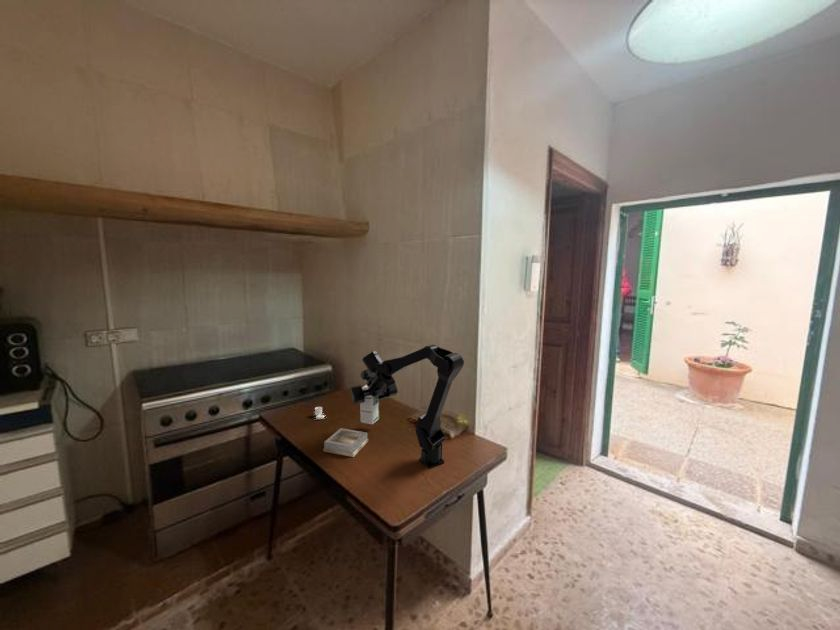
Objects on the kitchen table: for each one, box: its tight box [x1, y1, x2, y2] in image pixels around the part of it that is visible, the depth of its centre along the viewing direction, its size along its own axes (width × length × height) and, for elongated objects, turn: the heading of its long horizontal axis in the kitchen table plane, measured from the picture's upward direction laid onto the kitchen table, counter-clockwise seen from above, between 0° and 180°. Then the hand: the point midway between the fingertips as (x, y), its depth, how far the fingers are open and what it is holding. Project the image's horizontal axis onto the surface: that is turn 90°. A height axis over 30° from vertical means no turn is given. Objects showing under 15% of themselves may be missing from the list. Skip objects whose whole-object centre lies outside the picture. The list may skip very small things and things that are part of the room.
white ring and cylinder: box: [314, 406, 326, 420], centre depth 148 cm, size 9×8×4 cm
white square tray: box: [322, 427, 369, 458], centre depth 122 cm, size 12×12×4 cm
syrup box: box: [359, 384, 380, 425], centre depth 135 cm, size 6×6×14 cm
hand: (368, 400), depth 136 cm, fingers closed on syrup box, 8 cm apart
